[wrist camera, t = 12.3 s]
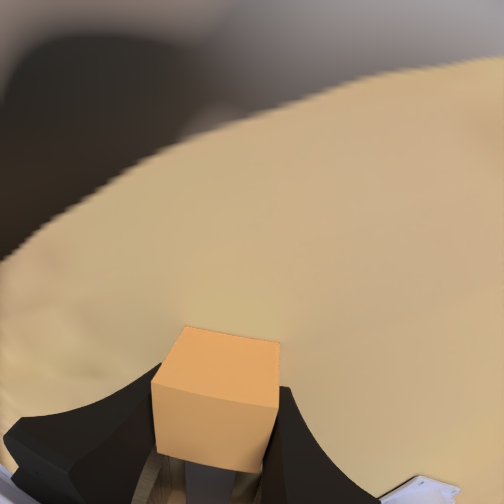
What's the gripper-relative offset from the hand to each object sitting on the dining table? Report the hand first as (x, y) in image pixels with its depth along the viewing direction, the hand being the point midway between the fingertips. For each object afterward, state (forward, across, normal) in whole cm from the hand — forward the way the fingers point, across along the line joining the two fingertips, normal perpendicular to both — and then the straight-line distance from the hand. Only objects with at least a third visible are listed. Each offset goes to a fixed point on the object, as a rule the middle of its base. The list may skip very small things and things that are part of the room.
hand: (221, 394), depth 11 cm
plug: (+2, 0, +6) cm, 6 cm away
